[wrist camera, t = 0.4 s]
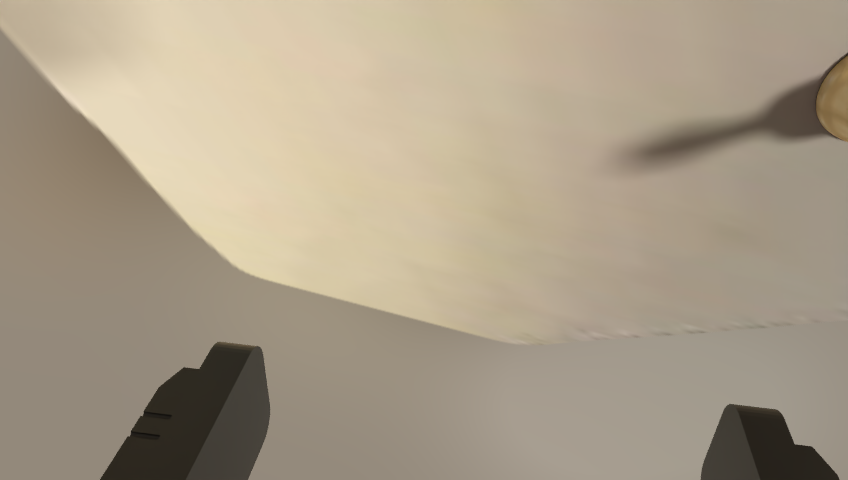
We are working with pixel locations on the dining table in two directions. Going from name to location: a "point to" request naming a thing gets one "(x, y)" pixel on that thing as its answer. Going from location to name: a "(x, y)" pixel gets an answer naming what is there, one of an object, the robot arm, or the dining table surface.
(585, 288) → the dining table surface
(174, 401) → the robot arm
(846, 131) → the hand bell
